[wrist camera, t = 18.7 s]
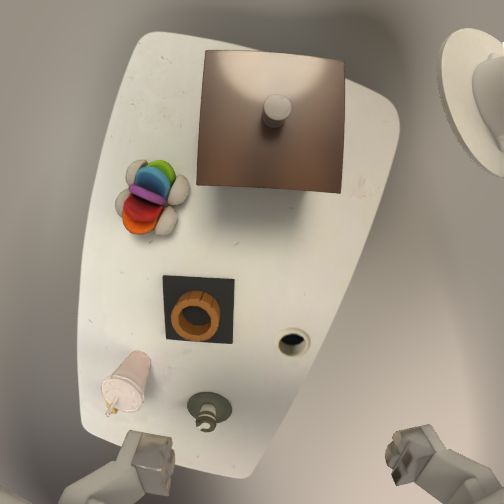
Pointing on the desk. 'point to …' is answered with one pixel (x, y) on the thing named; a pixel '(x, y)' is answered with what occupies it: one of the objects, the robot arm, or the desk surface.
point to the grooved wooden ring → (189, 329)
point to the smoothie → (127, 384)
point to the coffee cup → (209, 410)
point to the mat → (196, 314)
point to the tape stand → (271, 121)
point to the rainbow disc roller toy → (151, 197)
